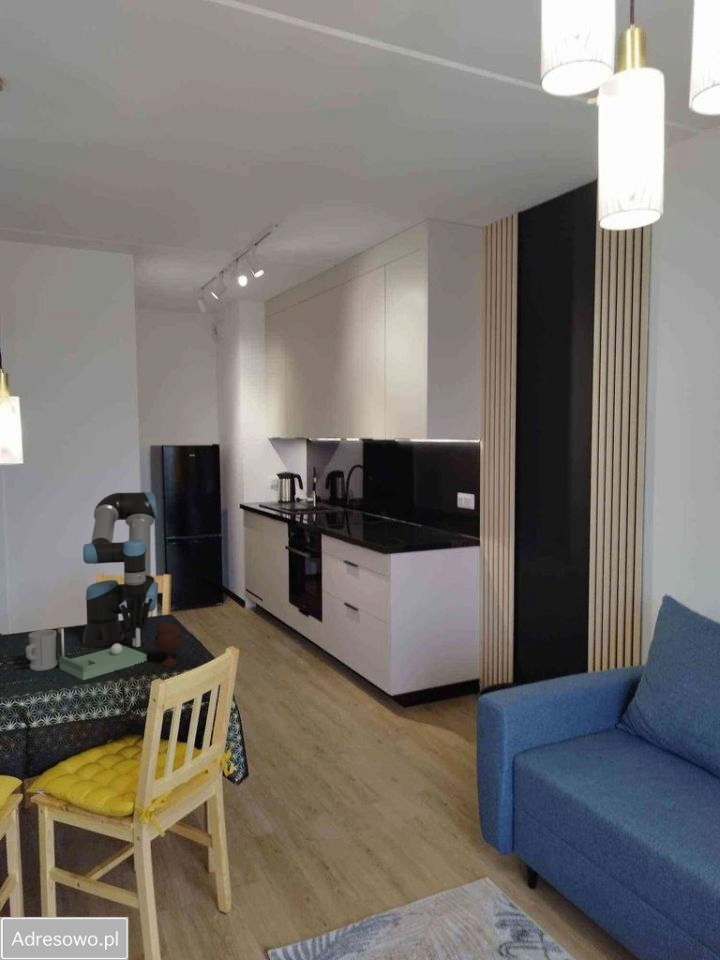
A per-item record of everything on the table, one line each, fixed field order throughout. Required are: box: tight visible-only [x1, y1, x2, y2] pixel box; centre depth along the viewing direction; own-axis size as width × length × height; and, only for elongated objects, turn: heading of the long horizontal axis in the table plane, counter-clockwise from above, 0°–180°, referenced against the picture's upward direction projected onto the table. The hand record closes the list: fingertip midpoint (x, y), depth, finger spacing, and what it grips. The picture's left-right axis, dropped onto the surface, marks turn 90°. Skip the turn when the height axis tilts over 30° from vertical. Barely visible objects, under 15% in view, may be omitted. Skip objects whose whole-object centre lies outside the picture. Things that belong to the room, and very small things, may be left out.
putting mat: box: [57, 626, 148, 681], centre depth 238 cm, size 17×24×14 cm
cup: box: [25, 629, 58, 672], centre depth 235 cm, size 10×9×12 cm
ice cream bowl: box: [152, 621, 186, 667], centre depth 240 cm, size 11×11×15 cm
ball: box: [110, 643, 123, 655], centre depth 242 cm, size 4×4×4 cm
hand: (136, 645), depth 248 cm, fingers closed
